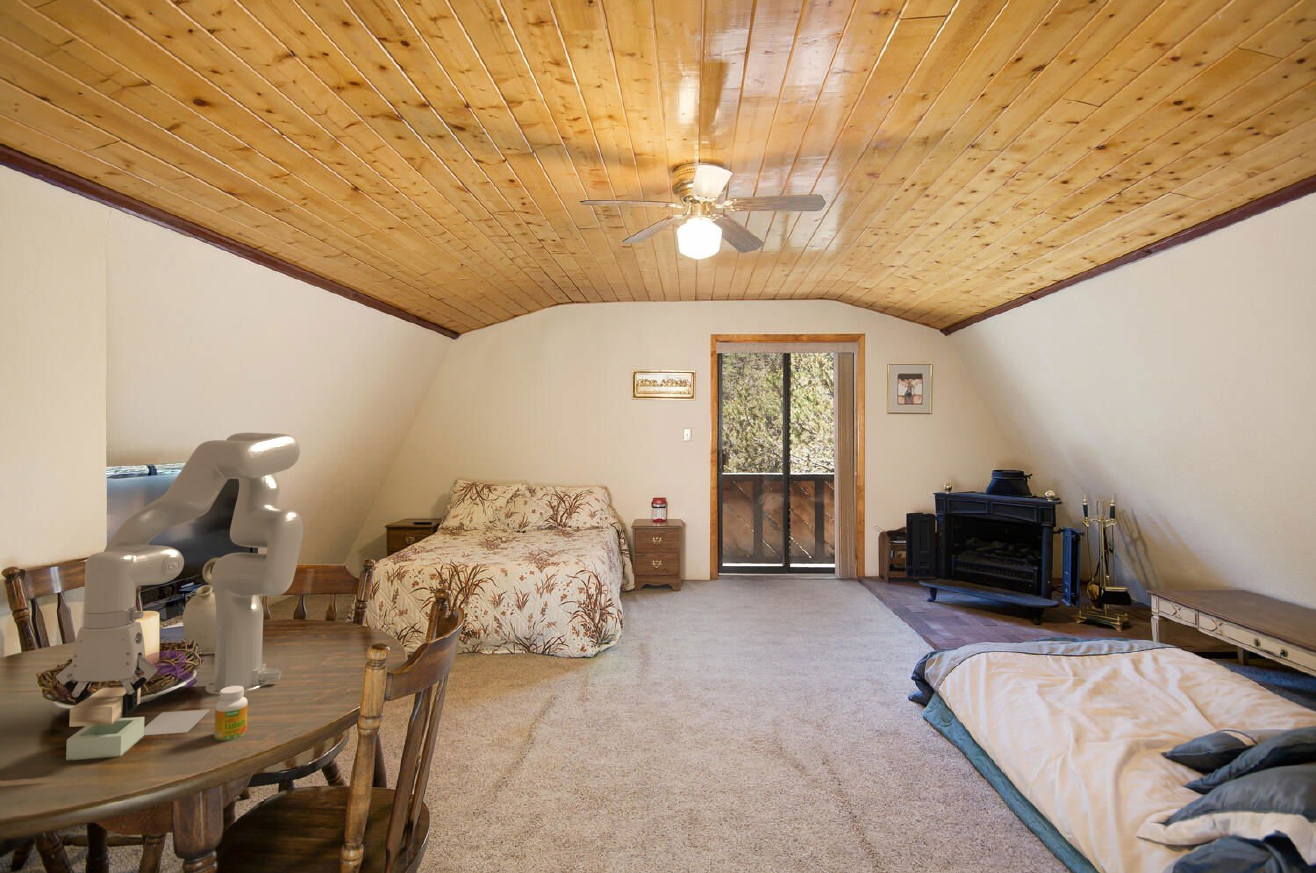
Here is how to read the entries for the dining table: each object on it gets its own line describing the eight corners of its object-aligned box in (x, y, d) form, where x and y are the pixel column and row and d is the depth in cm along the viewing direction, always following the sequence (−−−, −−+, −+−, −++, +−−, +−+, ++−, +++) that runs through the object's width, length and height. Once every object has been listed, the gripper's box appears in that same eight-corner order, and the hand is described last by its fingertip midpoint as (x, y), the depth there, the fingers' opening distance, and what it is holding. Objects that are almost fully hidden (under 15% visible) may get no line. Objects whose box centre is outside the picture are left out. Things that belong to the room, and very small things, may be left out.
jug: (210, 660, 175) (213, 564, 174) (167, 652, 179) (170, 559, 179) (261, 643, 189) (263, 555, 189) (220, 636, 194) (222, 550, 194)
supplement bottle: (222, 747, 128) (224, 696, 128) (208, 739, 131) (210, 690, 131) (252, 737, 133) (253, 688, 133) (238, 730, 135) (239, 682, 135)
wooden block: (140, 702, 130) (140, 686, 130) (111, 724, 121) (112, 706, 121) (101, 705, 129) (101, 688, 129) (69, 726, 119) (70, 708, 119)
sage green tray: (143, 739, 130) (144, 716, 130) (120, 760, 122) (121, 735, 122) (93, 743, 128) (93, 720, 128) (66, 764, 120) (66, 739, 120)
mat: (210, 713, 143) (210, 709, 143) (187, 736, 132) (187, 732, 132) (161, 716, 141) (161, 712, 141) (134, 739, 130) (134, 735, 130)
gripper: (172, 611, 131) (168, 703, 130) (67, 614, 126) (63, 709, 126) (153, 622, 123) (149, 719, 123) (41, 625, 119) (37, 726, 119)
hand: (106, 713), depth 125 cm, fingers closed on wooden block, 6 cm apart
